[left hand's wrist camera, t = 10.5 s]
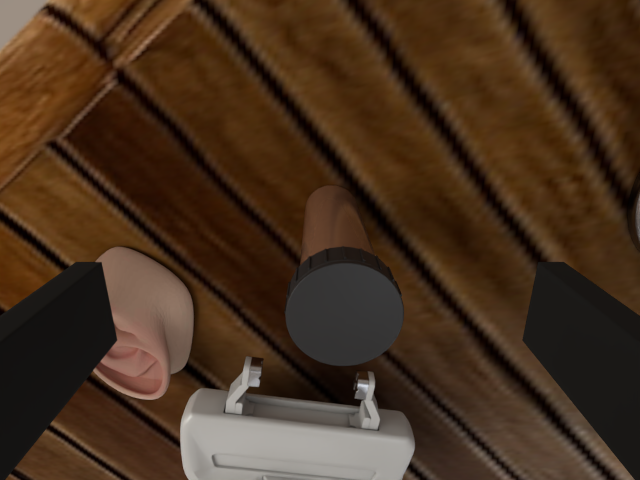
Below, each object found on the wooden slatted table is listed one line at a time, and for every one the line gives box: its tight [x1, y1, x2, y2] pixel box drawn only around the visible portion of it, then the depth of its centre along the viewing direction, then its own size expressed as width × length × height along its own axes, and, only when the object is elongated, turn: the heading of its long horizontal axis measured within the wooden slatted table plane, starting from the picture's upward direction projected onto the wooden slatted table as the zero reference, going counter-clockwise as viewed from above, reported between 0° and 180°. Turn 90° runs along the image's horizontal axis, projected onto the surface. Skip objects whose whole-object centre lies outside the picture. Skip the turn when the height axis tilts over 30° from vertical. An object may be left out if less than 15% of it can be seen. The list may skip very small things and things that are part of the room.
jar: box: [300, 185, 375, 265], centre depth 28 cm, size 5×5×17 cm
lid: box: [285, 246, 404, 366], centre depth 20 cm, size 6×6×2 cm
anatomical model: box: [93, 247, 194, 400], centre depth 37 cm, size 13×4×12 cm
